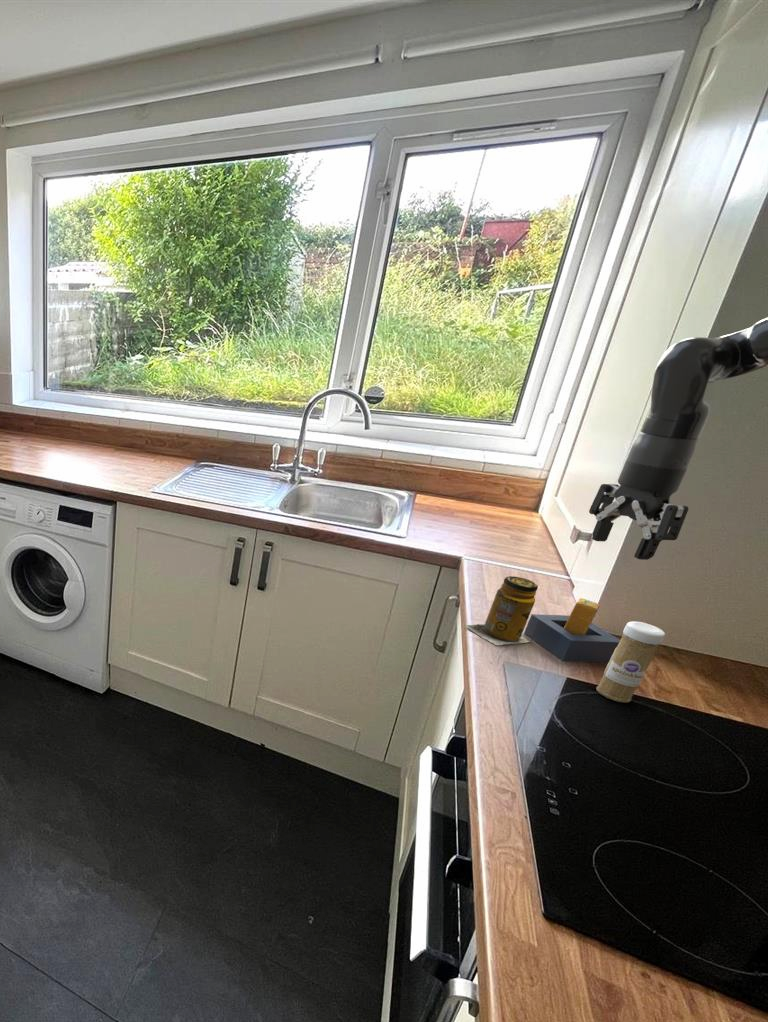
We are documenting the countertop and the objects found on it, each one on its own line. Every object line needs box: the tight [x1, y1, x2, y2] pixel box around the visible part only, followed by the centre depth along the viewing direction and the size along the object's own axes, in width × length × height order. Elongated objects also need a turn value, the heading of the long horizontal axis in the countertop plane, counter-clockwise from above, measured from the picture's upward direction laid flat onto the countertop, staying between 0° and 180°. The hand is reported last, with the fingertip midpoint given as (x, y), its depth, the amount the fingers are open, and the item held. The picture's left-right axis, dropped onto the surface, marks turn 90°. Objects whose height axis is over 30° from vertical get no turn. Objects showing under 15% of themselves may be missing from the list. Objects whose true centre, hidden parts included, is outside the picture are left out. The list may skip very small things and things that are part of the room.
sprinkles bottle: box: [596, 620, 666, 704], centre depth 96 cm, size 5×5×13 cm
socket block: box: [523, 613, 621, 664], centre depth 112 cm, size 10×10×4 cm
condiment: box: [464, 575, 539, 646], centre depth 115 cm, size 7×8×12 cm
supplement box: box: [564, 597, 601, 635], centre depth 111 cm, size 3×3×10 cm
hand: (619, 549), depth 104 cm, fingers open, 8 cm apart
